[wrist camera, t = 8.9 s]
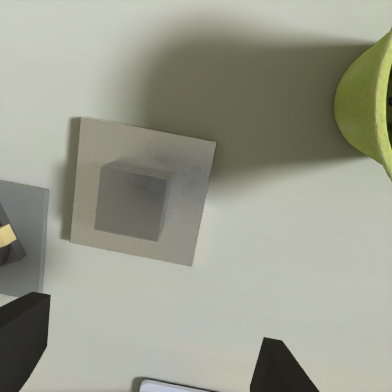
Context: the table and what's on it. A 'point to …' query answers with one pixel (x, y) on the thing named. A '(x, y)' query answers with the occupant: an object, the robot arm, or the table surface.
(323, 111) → the table surface
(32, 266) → the coaster
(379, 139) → the plant pot
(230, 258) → the table surface
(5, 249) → the dark grey rounded piece
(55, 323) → the table surface
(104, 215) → the grey square holder
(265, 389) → the robot arm
